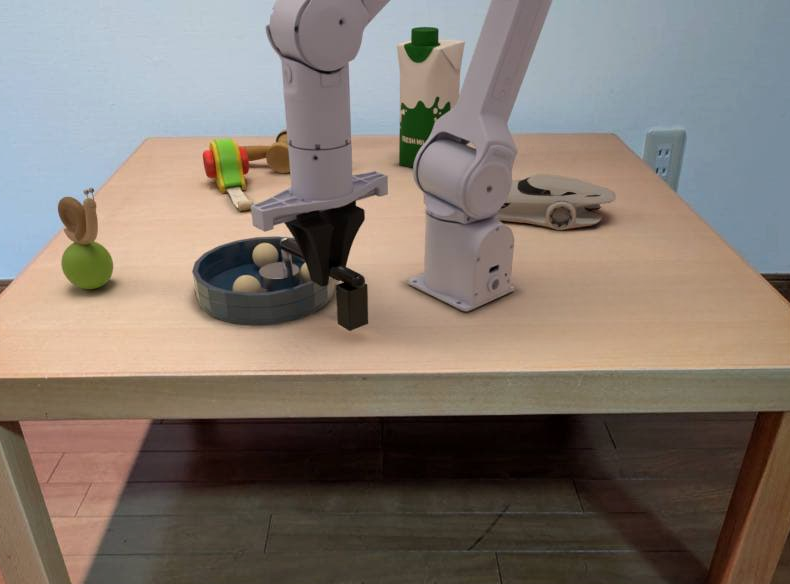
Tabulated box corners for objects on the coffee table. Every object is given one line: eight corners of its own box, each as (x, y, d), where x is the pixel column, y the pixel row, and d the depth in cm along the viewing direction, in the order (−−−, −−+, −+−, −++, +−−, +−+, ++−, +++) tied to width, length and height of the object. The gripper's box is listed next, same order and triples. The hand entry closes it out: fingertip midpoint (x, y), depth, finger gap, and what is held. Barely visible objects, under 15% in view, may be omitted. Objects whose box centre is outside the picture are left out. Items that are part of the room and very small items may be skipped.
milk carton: (391, 165, 119) (390, 29, 107) (419, 151, 125) (421, 20, 113) (438, 174, 115) (443, 33, 103) (464, 159, 121) (472, 25, 110)
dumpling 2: (260, 277, 85) (276, 270, 87) (271, 260, 83) (287, 253, 85) (243, 258, 85) (259, 251, 87) (254, 241, 83) (270, 234, 85)
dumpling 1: (266, 303, 78) (266, 275, 78) (243, 304, 76) (242, 275, 76) (251, 302, 81) (250, 275, 80) (227, 303, 79) (226, 275, 78)
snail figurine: (96, 303, 80) (68, 196, 73) (58, 290, 83) (27, 186, 76) (133, 285, 84) (110, 181, 77) (96, 272, 87) (70, 171, 80)
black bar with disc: (252, 281, 81) (246, 231, 78) (285, 271, 84) (281, 222, 80) (346, 337, 71) (343, 282, 67) (380, 323, 73) (380, 269, 70)
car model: (439, 193, 108) (441, 159, 105) (609, 204, 104) (615, 168, 101) (428, 221, 99) (429, 185, 96) (613, 234, 95) (620, 196, 92)
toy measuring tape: (241, 169, 118) (236, 127, 115) (268, 209, 103) (264, 162, 100) (201, 173, 117) (195, 131, 113) (224, 215, 102) (217, 168, 98)
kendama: (217, 182, 117) (326, 169, 114) (209, 140, 114) (320, 126, 111) (233, 175, 124) (336, 163, 121) (226, 136, 121) (331, 123, 118)
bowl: (361, 294, 81) (360, 265, 79) (244, 340, 74) (240, 309, 71) (284, 253, 91) (281, 226, 89) (173, 289, 83) (167, 261, 81)
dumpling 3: (320, 291, 83) (336, 276, 81) (302, 292, 81) (318, 277, 79) (309, 269, 84) (324, 254, 82) (290, 269, 81) (306, 254, 79)
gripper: (354, 118, 72) (358, 248, 80) (226, 147, 64) (244, 287, 72) (402, 133, 67) (401, 269, 75) (270, 166, 60) (284, 313, 68)
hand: (327, 279), depth 73 cm, fingers closed on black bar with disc
